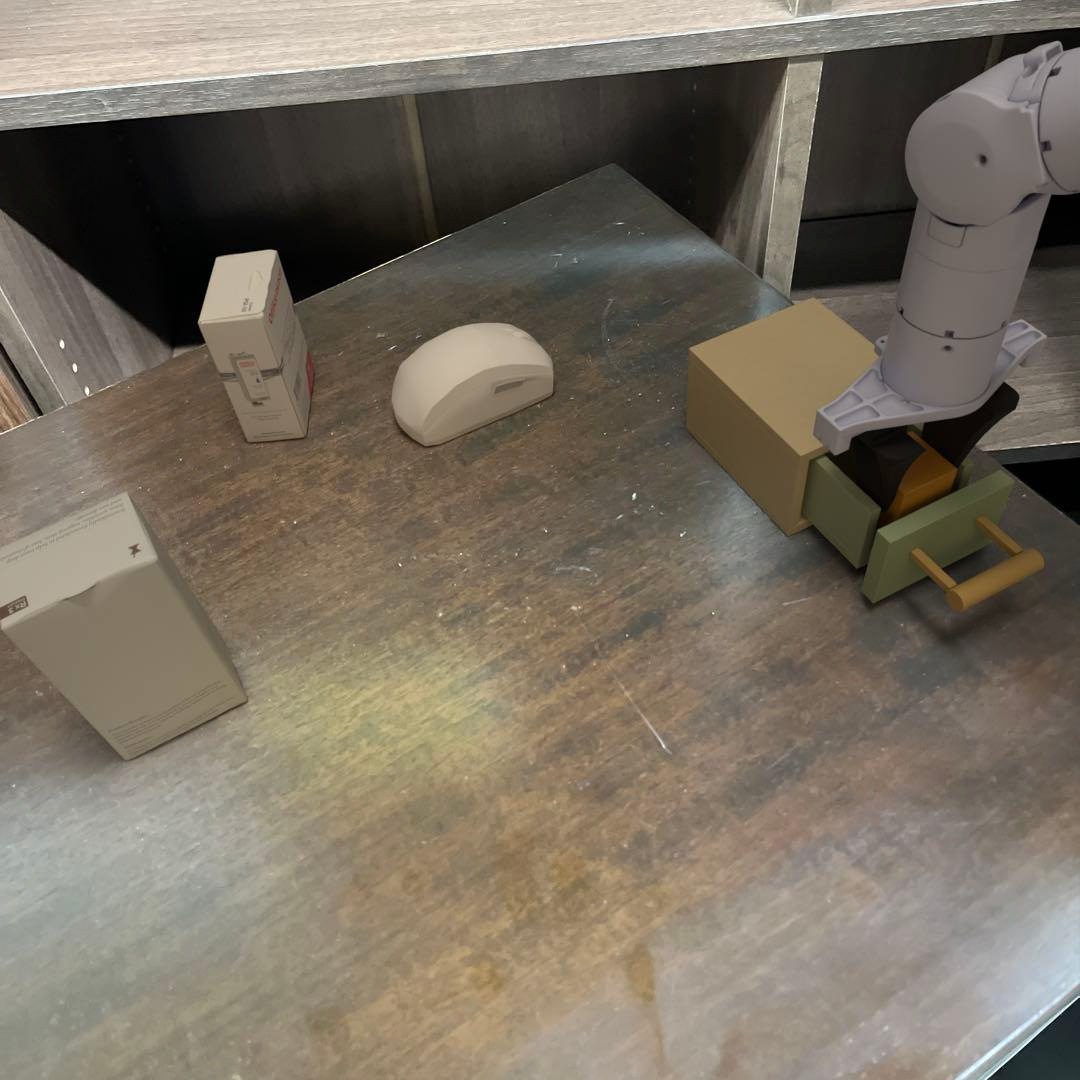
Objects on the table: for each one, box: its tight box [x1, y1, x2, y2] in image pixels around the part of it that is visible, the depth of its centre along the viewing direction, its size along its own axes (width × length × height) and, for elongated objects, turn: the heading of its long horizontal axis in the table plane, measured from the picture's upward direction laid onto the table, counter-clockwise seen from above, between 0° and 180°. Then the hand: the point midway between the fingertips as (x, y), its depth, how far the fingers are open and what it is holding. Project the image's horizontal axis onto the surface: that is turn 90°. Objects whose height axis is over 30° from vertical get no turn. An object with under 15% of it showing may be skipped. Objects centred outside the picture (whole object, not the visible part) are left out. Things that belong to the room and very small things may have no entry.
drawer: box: [801, 423, 1045, 613], centre depth 62 cm, size 16×9×6 cm, turn 27°
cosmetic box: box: [0, 491, 248, 762], centre depth 56 cm, size 8×6×15 cm
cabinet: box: [685, 296, 879, 537], centre depth 69 cm, size 13×11×8 cm
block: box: [855, 431, 957, 528], centre depth 61 cm, size 4×4×4 cm
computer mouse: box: [390, 322, 555, 447], centre depth 76 cm, size 6×13×6 cm, turn 118°
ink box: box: [197, 249, 315, 443], centre depth 75 cm, size 9×5×12 cm, turn 3°
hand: (902, 487), depth 62 cm, fingers open, 4 cm apart
